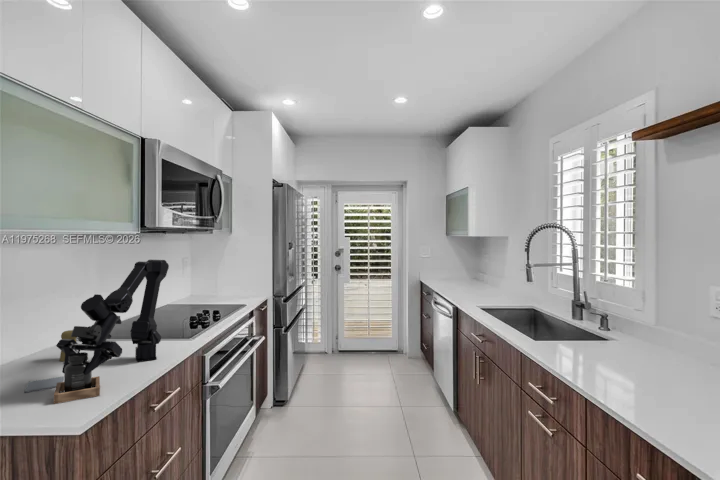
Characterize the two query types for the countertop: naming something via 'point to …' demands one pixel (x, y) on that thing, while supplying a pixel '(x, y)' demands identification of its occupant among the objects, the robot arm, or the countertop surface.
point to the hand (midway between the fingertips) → (74, 373)
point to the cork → (66, 336)
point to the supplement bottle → (77, 373)
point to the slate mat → (43, 384)
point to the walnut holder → (76, 392)
